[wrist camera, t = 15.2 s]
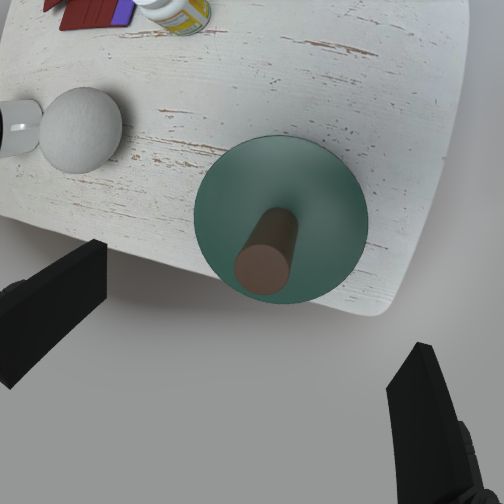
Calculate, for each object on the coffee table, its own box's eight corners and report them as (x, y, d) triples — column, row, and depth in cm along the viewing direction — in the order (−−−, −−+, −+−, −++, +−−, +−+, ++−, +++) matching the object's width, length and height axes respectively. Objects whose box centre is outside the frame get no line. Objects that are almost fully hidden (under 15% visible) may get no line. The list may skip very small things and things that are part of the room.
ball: (141, 161, 35) (89, 176, 26) (81, 170, 37) (27, 187, 28) (136, 81, 31) (81, 73, 22) (75, 99, 33) (19, 100, 24)
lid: (389, 167, 22) (429, 189, 13) (332, 315, 27) (333, 389, 19) (217, 117, 23) (165, 112, 15) (186, 269, 28) (138, 326, 20)
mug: (12, 156, 38) (-30, 167, 30) (13, 100, 34) (-30, 104, 26) (57, 155, 37) (10, 166, 28) (60, 90, 33) (11, 90, 25)
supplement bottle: (194, 43, 28) (153, 19, 20) (159, 26, 28) (113, 4, 19) (221, 6, 26) (189, -29, 18) (185, -9, 26) (146, -41, 17)
